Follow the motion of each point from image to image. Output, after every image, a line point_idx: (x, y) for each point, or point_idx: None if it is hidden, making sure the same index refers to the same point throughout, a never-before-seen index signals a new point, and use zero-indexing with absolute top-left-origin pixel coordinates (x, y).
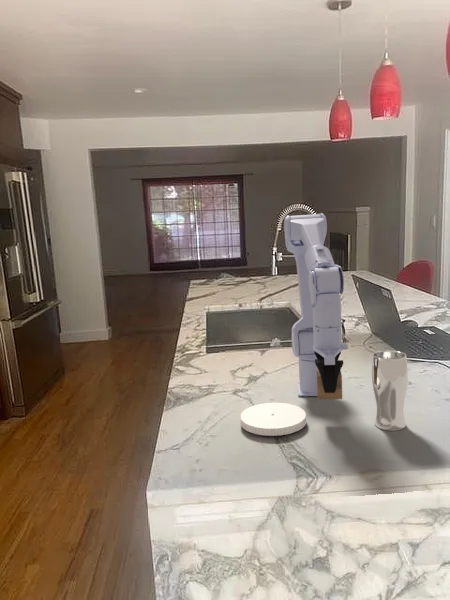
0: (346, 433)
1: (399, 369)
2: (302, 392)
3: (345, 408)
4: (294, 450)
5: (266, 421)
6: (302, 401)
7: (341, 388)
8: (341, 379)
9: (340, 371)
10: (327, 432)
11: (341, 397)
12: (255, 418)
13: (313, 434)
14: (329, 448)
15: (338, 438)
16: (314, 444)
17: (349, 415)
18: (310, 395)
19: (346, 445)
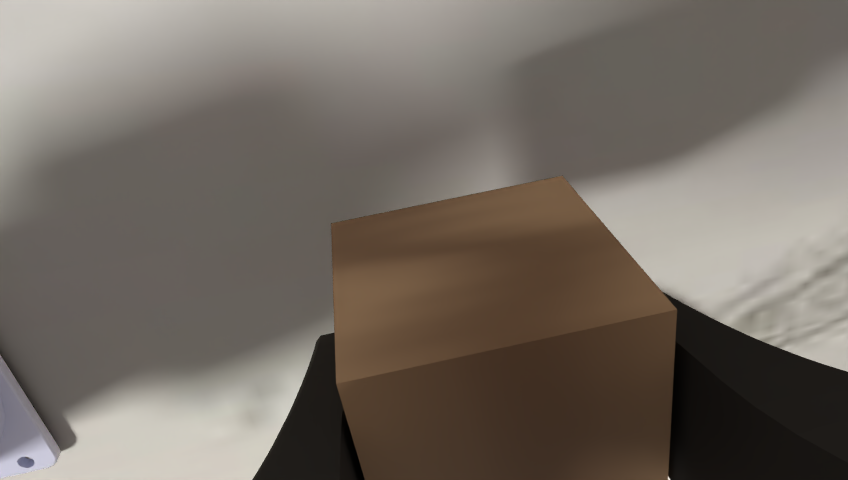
0: (615, 61)
1: None
2: (2, 454)
3: (162, 123)
4: (807, 290)
5: None
6: (136, 411)
7: (606, 230)
8: (654, 285)
9: (476, 356)
10: (603, 179)
11: (570, 189)
12: None
13: (631, 247)
14: (808, 133)
15: (686, 102)
16: (753, 217)
17: (299, 75)
18: (24, 397)
19: (782, 41)
